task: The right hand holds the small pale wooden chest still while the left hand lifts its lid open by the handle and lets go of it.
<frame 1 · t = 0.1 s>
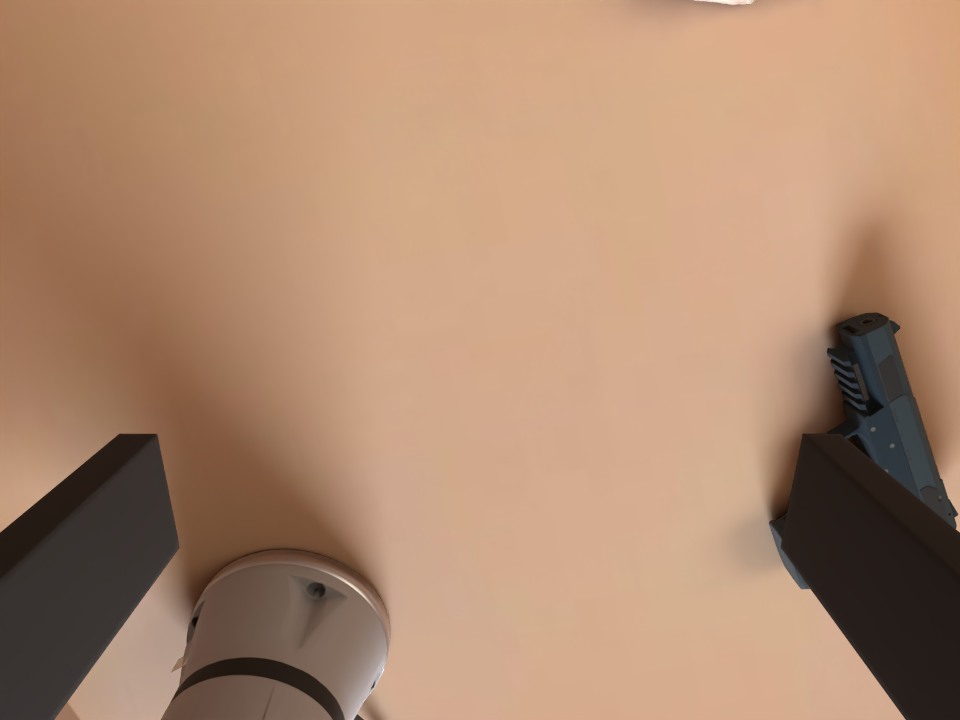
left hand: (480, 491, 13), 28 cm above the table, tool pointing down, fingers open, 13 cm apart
handgun: (827, 446, 44), on the table
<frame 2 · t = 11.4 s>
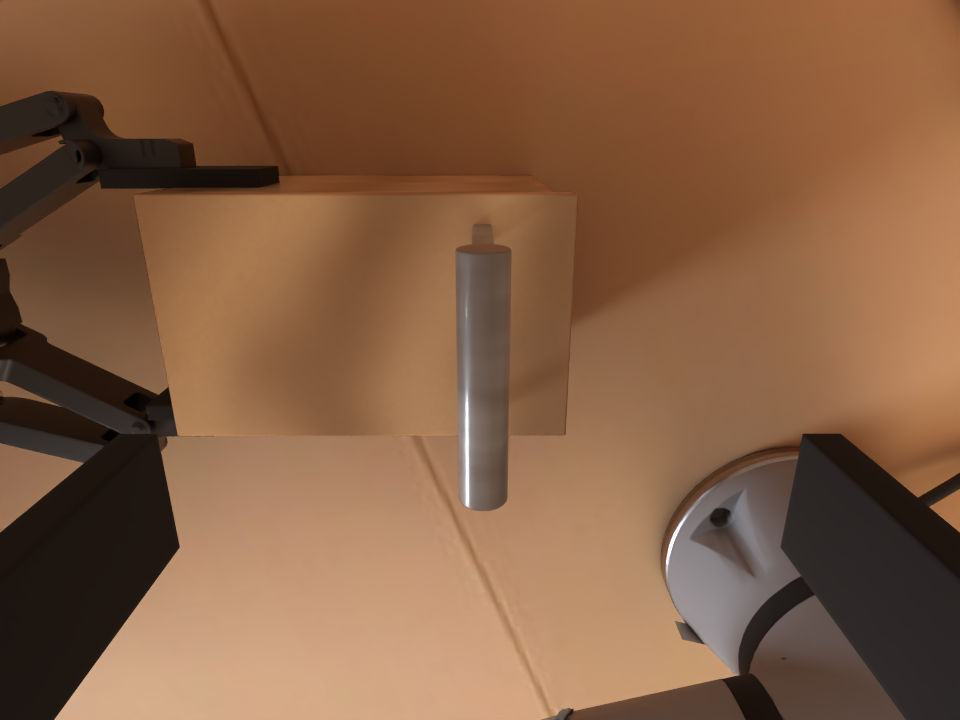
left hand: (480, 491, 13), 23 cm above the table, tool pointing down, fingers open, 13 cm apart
lid: (348, 348, 21), point 14 cm above the table, hinge at 0.0°
chest: (392, 266, 35), on the table, touching right hand
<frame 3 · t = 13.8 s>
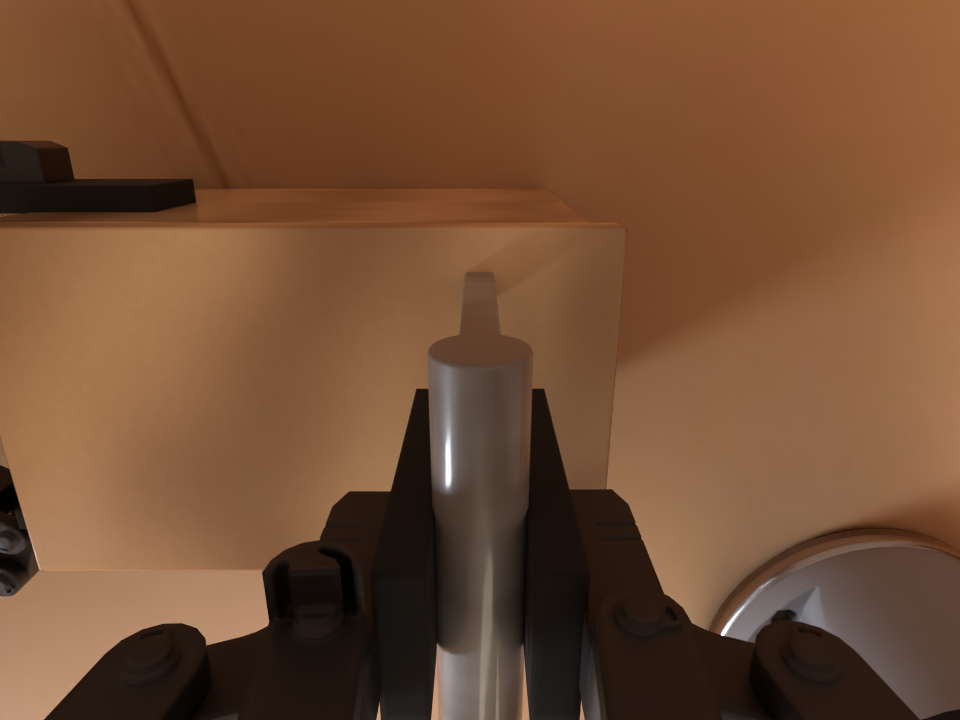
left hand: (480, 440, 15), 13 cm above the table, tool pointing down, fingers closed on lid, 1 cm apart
lid: (266, 476, 13), point 14 cm above the table, hinge at -0.1°, touching left hand
chest: (364, 305, 27), on the table, touching right hand
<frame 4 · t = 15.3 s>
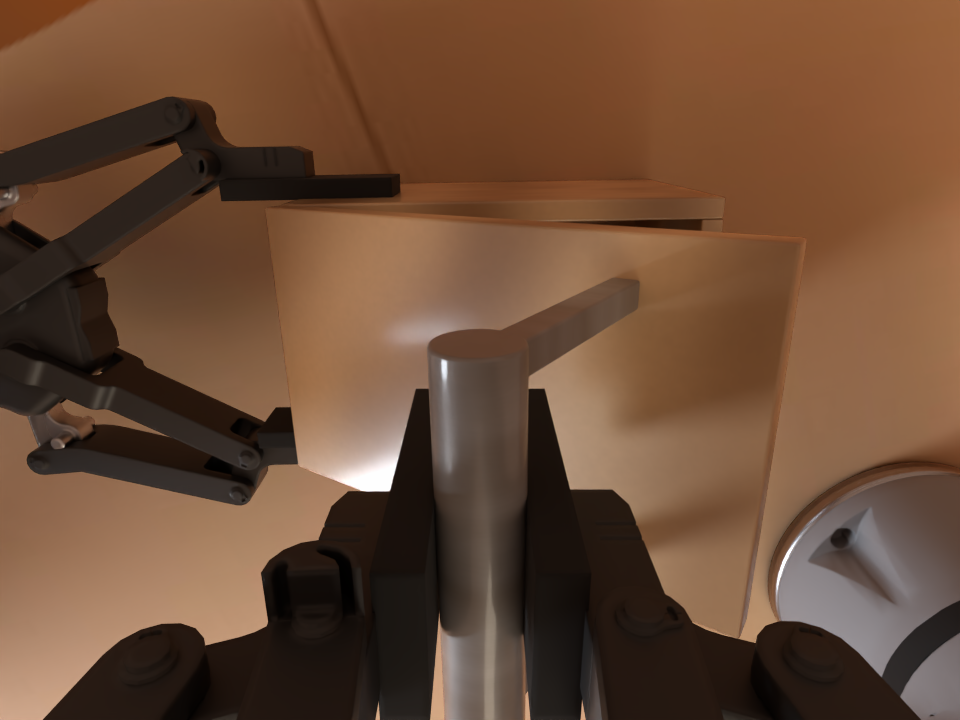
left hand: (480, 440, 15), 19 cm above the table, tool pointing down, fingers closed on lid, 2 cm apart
right hand: (403, 312, 26), fingers closed on chest, 10 cm apart
lid: (398, 430, 16), point 18 cm above the table, hinge at 34.0°, touching left hand
chest: (496, 277, 33), on the table, touching right hand
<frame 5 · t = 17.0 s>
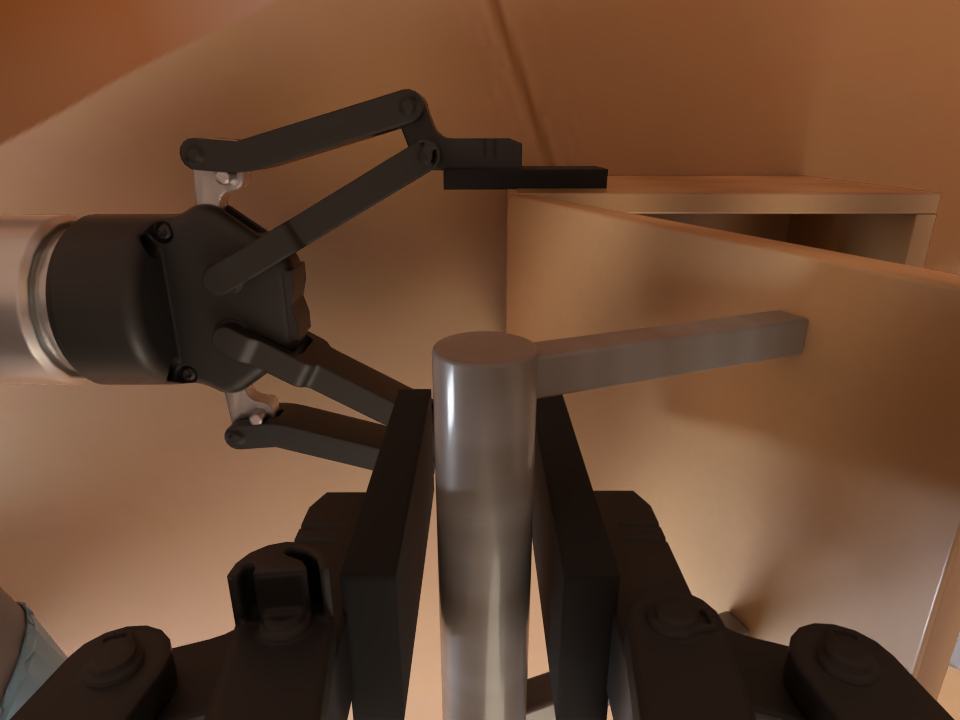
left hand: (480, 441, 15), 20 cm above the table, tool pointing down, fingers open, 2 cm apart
right hand: (593, 299, 28), fingers closed on chest, 10 cm apart
lid: (529, 426, 16), point 20 cm above the table, hinge at 67.9°
chest: (647, 268, 34), on the table, touching right hand
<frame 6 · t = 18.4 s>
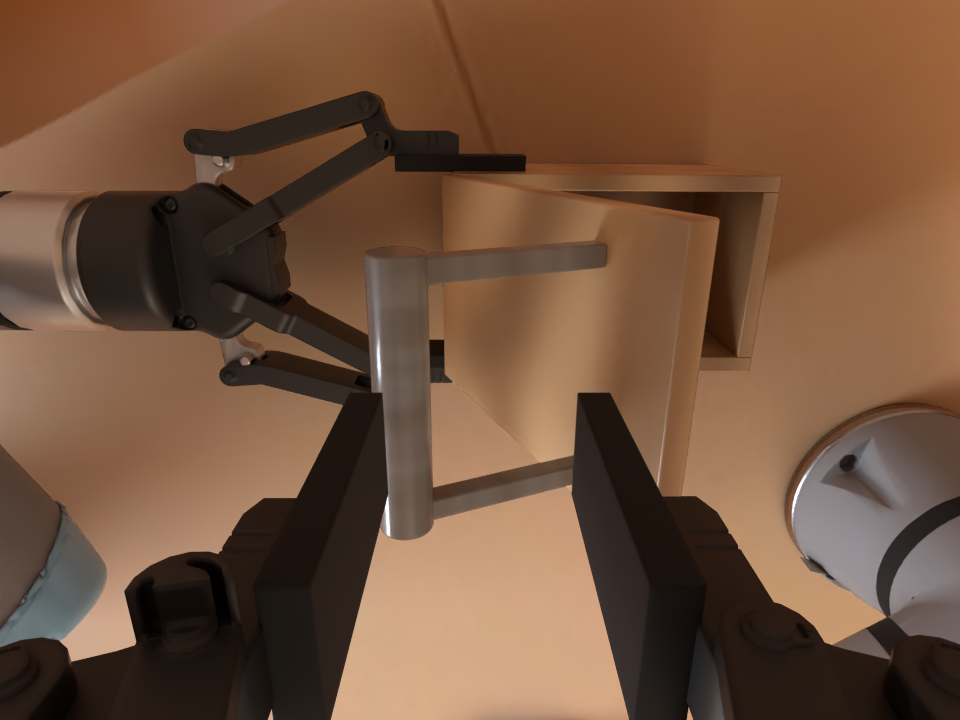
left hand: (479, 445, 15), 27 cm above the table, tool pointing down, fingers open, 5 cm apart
right hand: (521, 263, 34), fingers closed on chest, 10 cm apart
lid: (446, 336, 22), point 20 cm above the table, hinge at 65.7°
chest: (577, 242, 40), on the table, touching right hand
when the right hand's fingers open (7 cm above the table, at t = 20.9 s): chest stays where it is, on the table.
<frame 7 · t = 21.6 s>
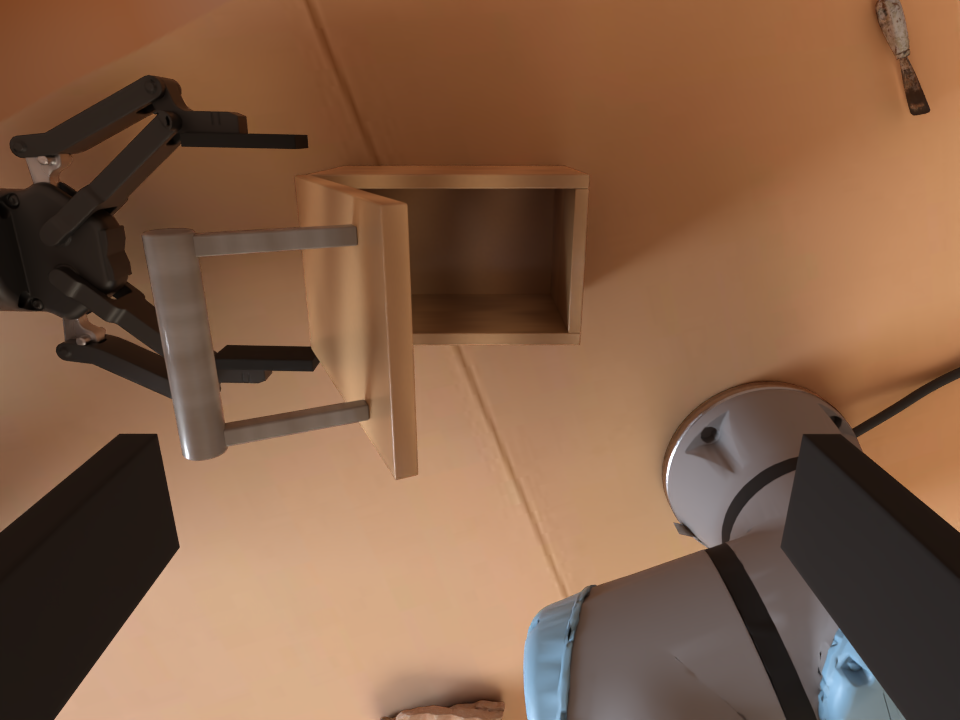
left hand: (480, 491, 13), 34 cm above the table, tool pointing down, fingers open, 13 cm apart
right hand: (311, 256, 39), fingers open, 13 cm apart
putty knife: (894, 58, 41), on the table
lid: (265, 306, 27), point 20 cm above the table, hinge at 65.1°
chest: (455, 236, 45), on the table
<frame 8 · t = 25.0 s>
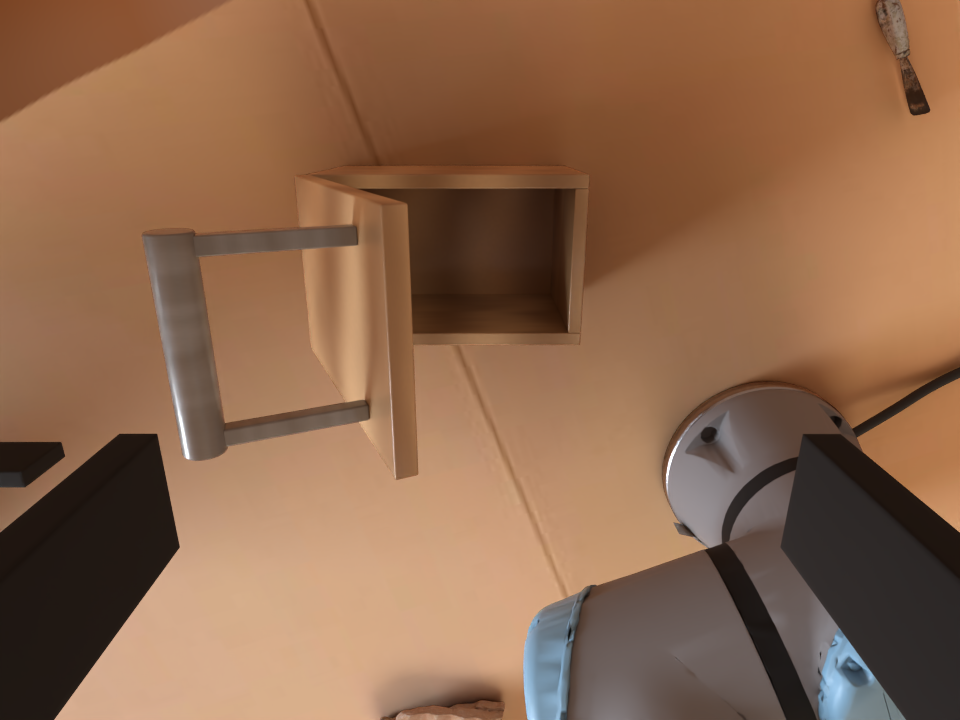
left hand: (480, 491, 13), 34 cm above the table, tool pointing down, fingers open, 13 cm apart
putty knife: (894, 58, 41), on the table
lid: (265, 306, 27), point 20 cm above the table, hinge at 65.1°
chest: (455, 236, 45), on the table
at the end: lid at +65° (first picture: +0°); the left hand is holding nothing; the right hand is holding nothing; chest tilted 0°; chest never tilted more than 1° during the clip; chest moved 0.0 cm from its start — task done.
